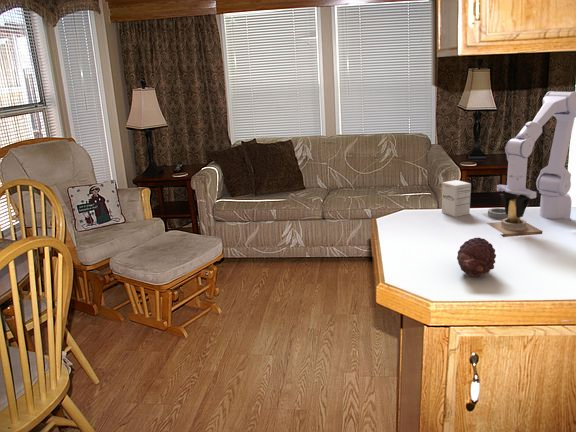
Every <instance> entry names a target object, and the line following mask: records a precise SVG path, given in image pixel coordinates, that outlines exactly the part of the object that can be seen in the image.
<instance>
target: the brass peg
mask: <svg viewBox="0 0 576 432" xmlns="http://www.w3.org/2000/svg"><path fill="white" fill-rule="evenodd" d="M520 219H522V217H519V218H518V217H517V205H516V200H515V198H514V199H509V204H508V220H507V223H512V224H519V223H520Z"/></svg>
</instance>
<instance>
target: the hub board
mask: <svg viewBox="0 0 576 432" xmlns="http://www.w3.org/2000/svg"><path fill="white" fill-rule="evenodd" d="M507 220H508V218H506V219H502V220H500V221H496V222H495V221H494V222H486V224H487V225H489V226H490V227H492V228H493V229H495V230H497V231H498V232H499V233H500V234H499V235H500V236H502V237H503V238H508V237H522V236H535V235H536V236H537V235H543V230H541V229H539V228H537V227H535V226H534V225H532V224H530V223H528V222H527V220H525V219H522V218H521V219H520V223H519V224H512V223H507Z"/></svg>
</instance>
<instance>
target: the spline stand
mask: <svg viewBox="0 0 576 432" xmlns="http://www.w3.org/2000/svg"><path fill="white" fill-rule="evenodd" d="M482 215H483V216H484V217H486V218H488V219H489V220H491V221H494V222H495V221H502V219H506V218H508V215H507V214H506V212H505V207H504V208H503V207H494V208H493V207H492V208H489V209H488V210H487V213H482Z"/></svg>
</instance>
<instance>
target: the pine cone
mask: <svg viewBox="0 0 576 432" xmlns="http://www.w3.org/2000/svg"><path fill="white" fill-rule="evenodd" d="M493 246H494V245H493V244H492V243H491V242H489V241H488V240H486V239H485V238H481V237H474V238H469V239H468V240H466V241H465V242H464V243H462V245H460V247H459V249H458V251H457V257H456V260H457V263H458V265H459V267H460V270H461V271H462V272H463V273H464V274H468V275H470V276H473V277H475V278H476V277H481V276H482V275H486V273H490V272H491V270H494V268H495V264H496V258H497V254H496V249H495V247H493Z"/></svg>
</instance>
